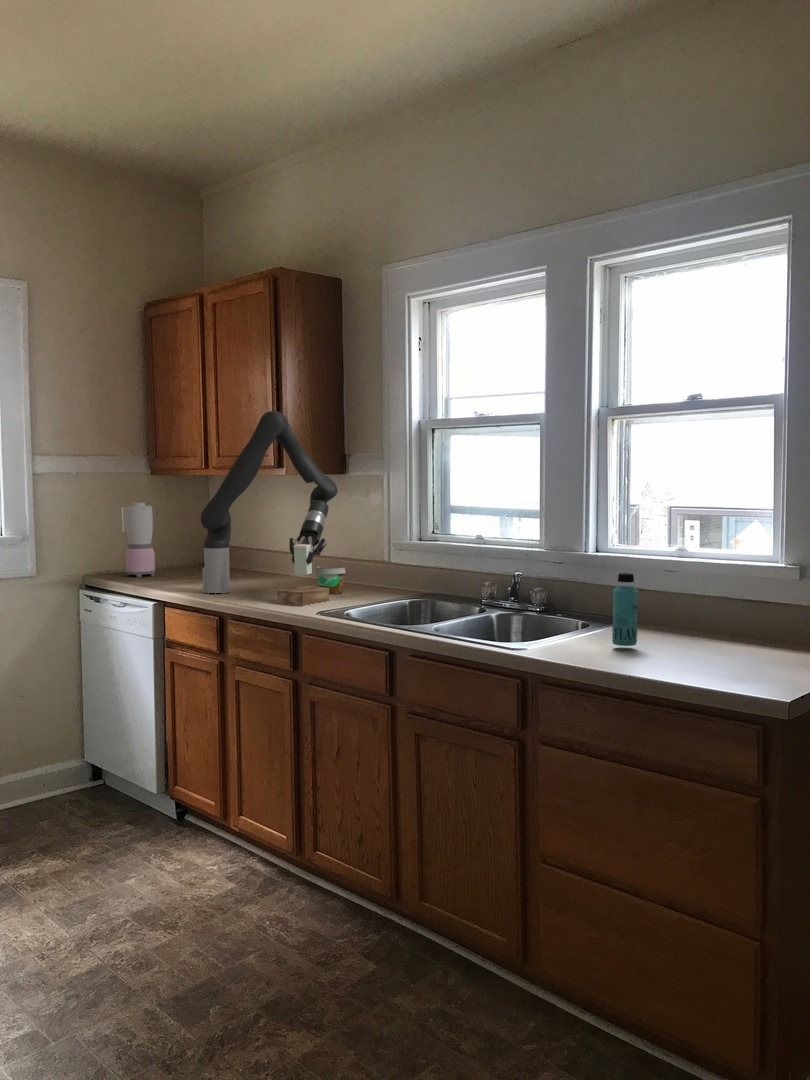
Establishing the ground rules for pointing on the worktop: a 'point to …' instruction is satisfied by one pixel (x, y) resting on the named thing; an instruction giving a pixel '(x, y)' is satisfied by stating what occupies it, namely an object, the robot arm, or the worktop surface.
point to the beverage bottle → (625, 612)
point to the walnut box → (303, 595)
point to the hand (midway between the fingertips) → (301, 562)
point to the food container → (331, 579)
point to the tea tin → (302, 559)
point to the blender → (139, 540)
